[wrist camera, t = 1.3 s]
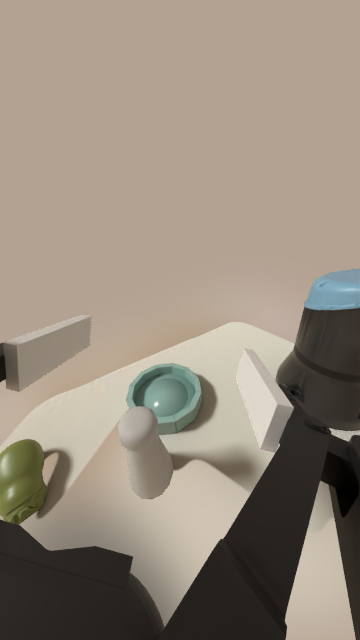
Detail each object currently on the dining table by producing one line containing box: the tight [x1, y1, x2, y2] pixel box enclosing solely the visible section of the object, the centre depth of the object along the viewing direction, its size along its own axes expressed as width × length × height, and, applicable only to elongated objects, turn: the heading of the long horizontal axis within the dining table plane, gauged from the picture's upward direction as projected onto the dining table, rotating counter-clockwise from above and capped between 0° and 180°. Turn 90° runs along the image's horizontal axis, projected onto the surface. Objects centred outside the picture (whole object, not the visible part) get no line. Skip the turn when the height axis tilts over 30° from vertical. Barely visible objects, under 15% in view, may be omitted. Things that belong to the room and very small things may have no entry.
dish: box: [126, 363, 202, 435], centre depth 36 cm, size 14×14×3 cm
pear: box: [0, 439, 47, 525], centre depth 25 cm, size 6×5×10 cm
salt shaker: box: [117, 406, 173, 499], centre depth 22 cm, size 6×6×13 cm
